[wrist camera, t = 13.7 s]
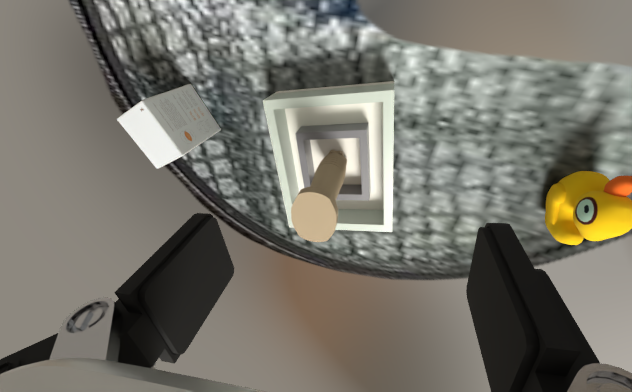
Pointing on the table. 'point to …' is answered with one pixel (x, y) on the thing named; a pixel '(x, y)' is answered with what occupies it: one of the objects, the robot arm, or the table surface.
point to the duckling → (589, 207)
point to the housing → (338, 147)
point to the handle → (320, 200)
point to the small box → (169, 124)
